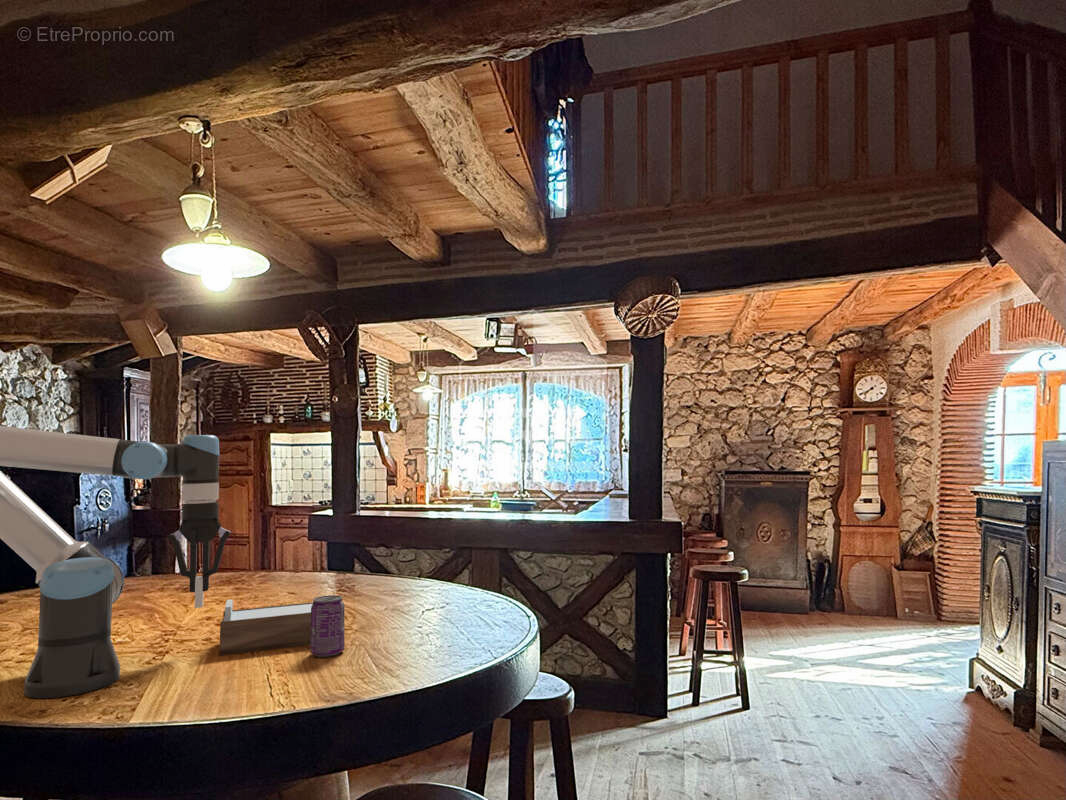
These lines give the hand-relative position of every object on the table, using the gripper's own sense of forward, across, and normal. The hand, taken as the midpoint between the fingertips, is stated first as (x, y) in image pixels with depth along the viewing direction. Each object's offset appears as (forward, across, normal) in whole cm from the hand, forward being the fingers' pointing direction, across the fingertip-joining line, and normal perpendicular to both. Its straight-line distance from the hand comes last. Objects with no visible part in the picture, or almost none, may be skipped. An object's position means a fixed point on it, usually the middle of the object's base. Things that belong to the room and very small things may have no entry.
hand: (199, 606), depth 148 cm
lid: (+4, -16, 0) cm, 16 cm away
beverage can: (+10, -27, +16) cm, 33 cm away
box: (+10, -16, 0) cm, 19 cm away
